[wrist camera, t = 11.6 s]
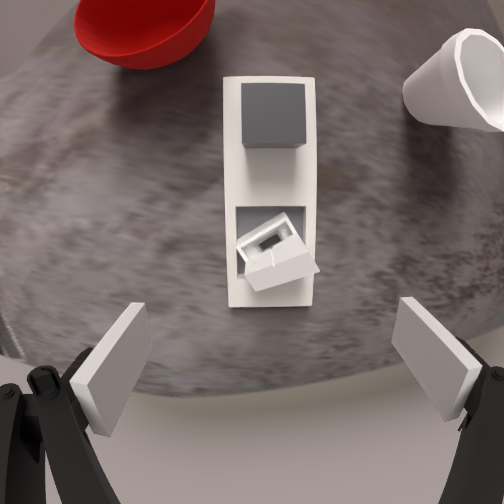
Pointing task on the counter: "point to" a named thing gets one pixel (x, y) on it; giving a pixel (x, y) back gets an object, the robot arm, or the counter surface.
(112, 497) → the robot arm
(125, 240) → the counter surface
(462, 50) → the foam cup
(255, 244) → the white angled block
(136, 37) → the ceramic cup
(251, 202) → the white slotted base plate
